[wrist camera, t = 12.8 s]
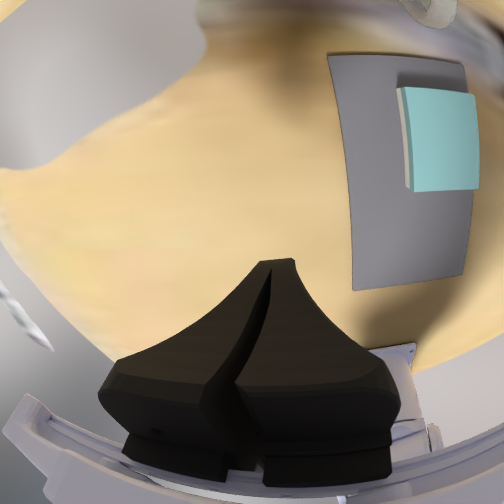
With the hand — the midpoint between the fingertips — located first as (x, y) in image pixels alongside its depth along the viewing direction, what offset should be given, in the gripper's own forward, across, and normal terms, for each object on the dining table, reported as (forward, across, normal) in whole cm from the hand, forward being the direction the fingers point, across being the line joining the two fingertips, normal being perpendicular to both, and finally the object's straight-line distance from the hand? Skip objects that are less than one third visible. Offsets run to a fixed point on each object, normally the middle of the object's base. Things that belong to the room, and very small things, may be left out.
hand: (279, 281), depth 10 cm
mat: (+10, -10, -1) cm, 14 cm away
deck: (+9, -9, -4) cm, 13 cm away
